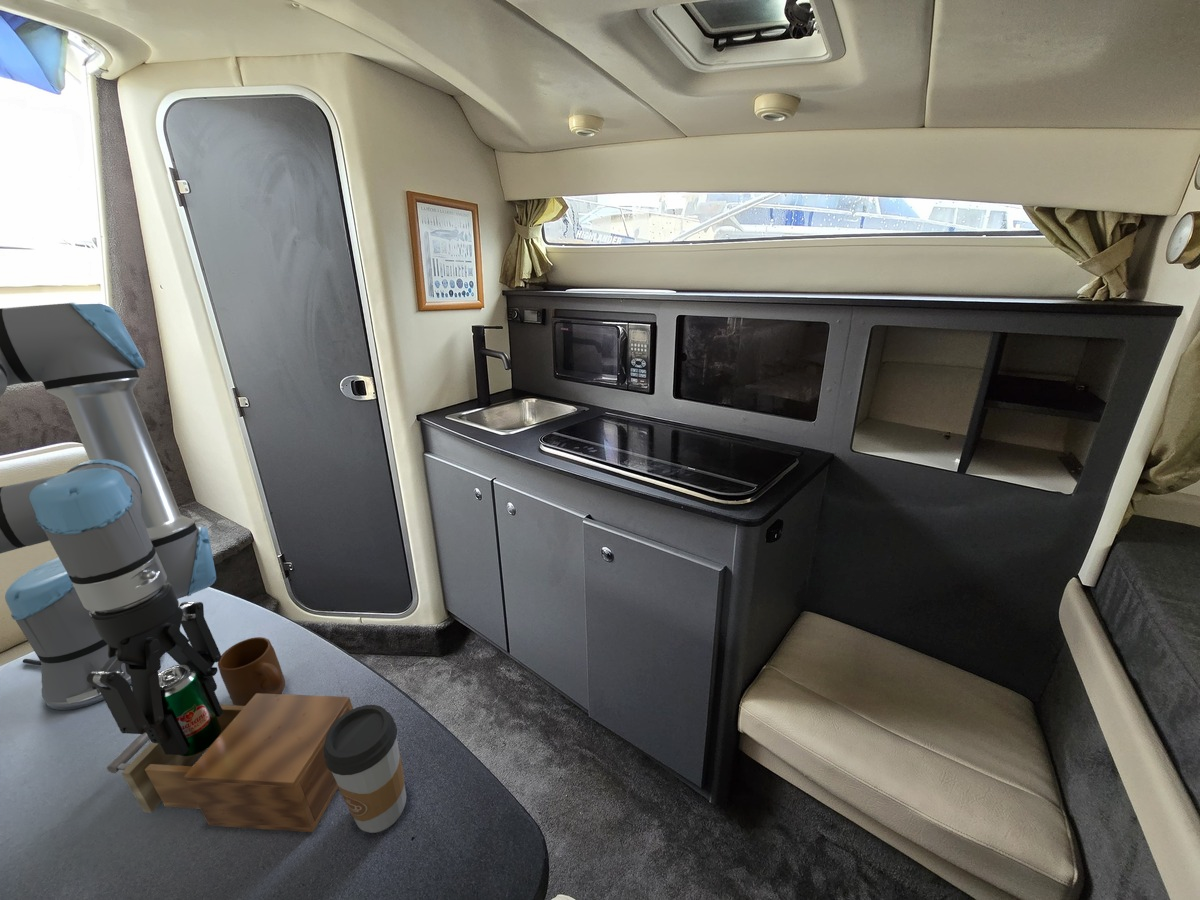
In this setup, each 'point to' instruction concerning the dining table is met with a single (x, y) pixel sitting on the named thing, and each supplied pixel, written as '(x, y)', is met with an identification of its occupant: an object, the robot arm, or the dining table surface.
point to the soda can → (189, 707)
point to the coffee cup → (367, 766)
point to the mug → (251, 670)
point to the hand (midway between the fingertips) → (195, 732)
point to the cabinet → (270, 765)
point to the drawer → (162, 770)
